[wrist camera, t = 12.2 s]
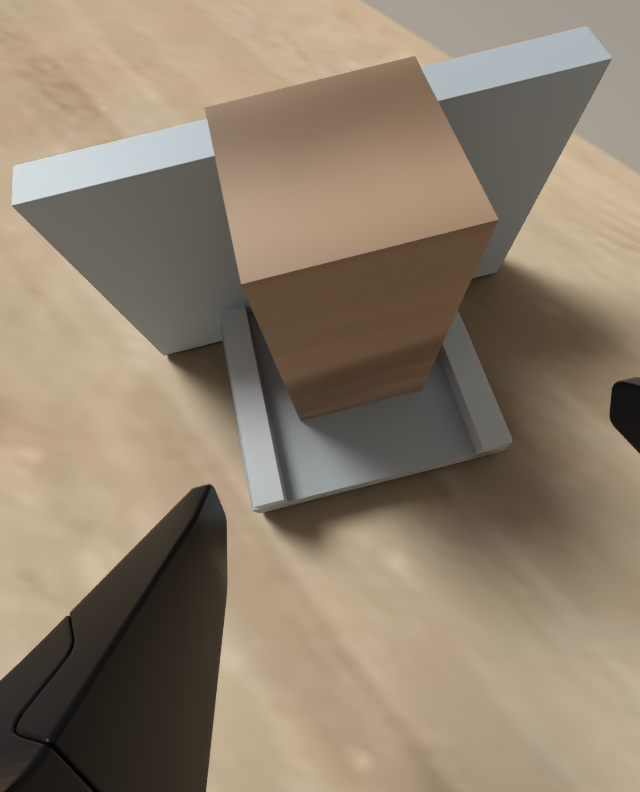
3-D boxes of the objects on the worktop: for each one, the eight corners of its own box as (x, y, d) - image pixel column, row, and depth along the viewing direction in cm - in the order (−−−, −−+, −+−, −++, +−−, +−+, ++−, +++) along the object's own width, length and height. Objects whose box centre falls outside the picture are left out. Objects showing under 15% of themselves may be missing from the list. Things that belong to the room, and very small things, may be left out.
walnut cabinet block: (421, 389, 18) (498, 219, 8) (300, 420, 18) (240, 284, 8) (385, 287, 20) (414, 55, 10) (275, 315, 20) (204, 107, 10)
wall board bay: (574, 433, 18) (813, 317, 9) (183, 532, 18) (-3, 522, 9) (486, 248, 22) (586, 25, 12) (160, 329, 22) (12, 166, 12)
